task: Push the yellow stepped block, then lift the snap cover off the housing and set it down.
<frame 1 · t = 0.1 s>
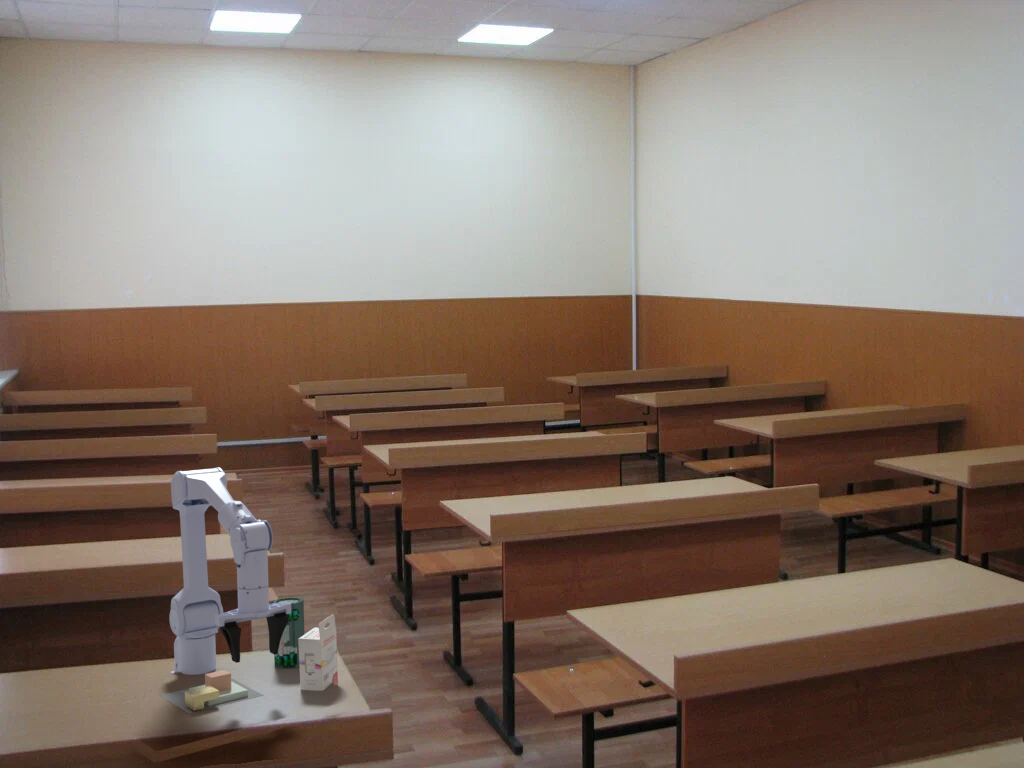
hand: (255, 657, 203), 10 cm above the table, fingers open, 7 cm apart
yellow stepped block: (202, 697, 202), point 3 cm above the table, slide at 0.0 cm
ink cartridge box: (319, 692, 214), on the table
can: (290, 671, 228), on the table
housing: (211, 702, 208), on the table
snap cover: (218, 695, 208), point 1 cm above the table, touching housing
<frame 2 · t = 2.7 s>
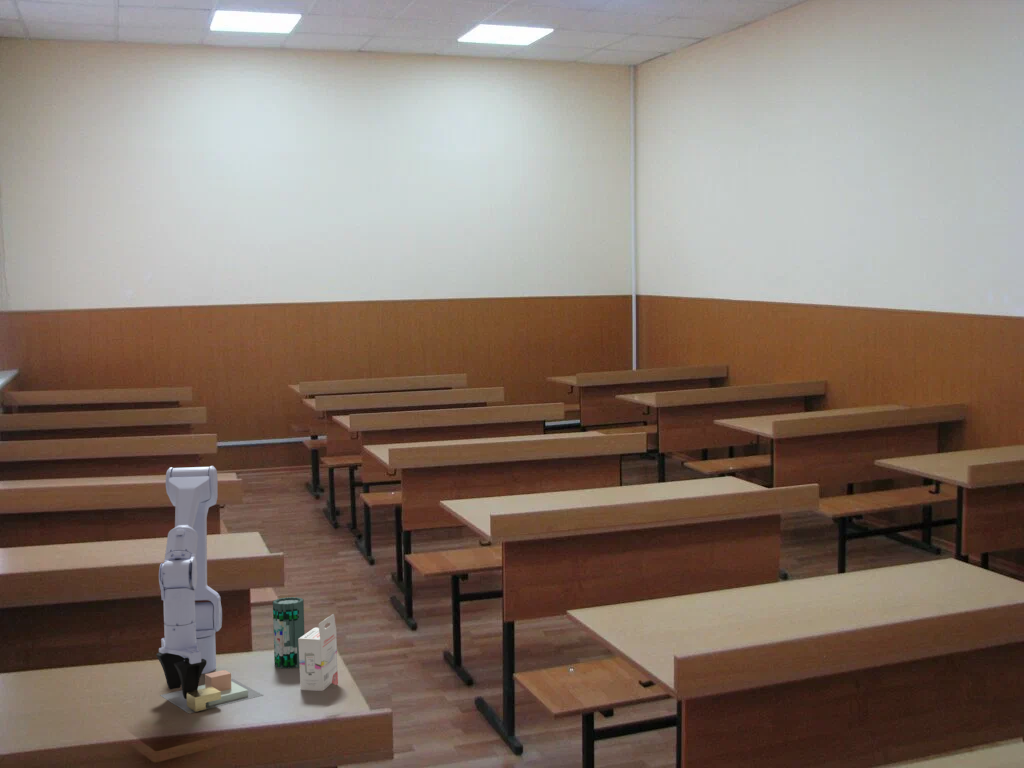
hand: (182, 692, 205), 3 cm above the table, fingers open, 7 cm apart
yellow stepped block: (203, 698, 201), point 3 cm above the table, slide at 0.8 cm, touching gripper
everything else where it was.
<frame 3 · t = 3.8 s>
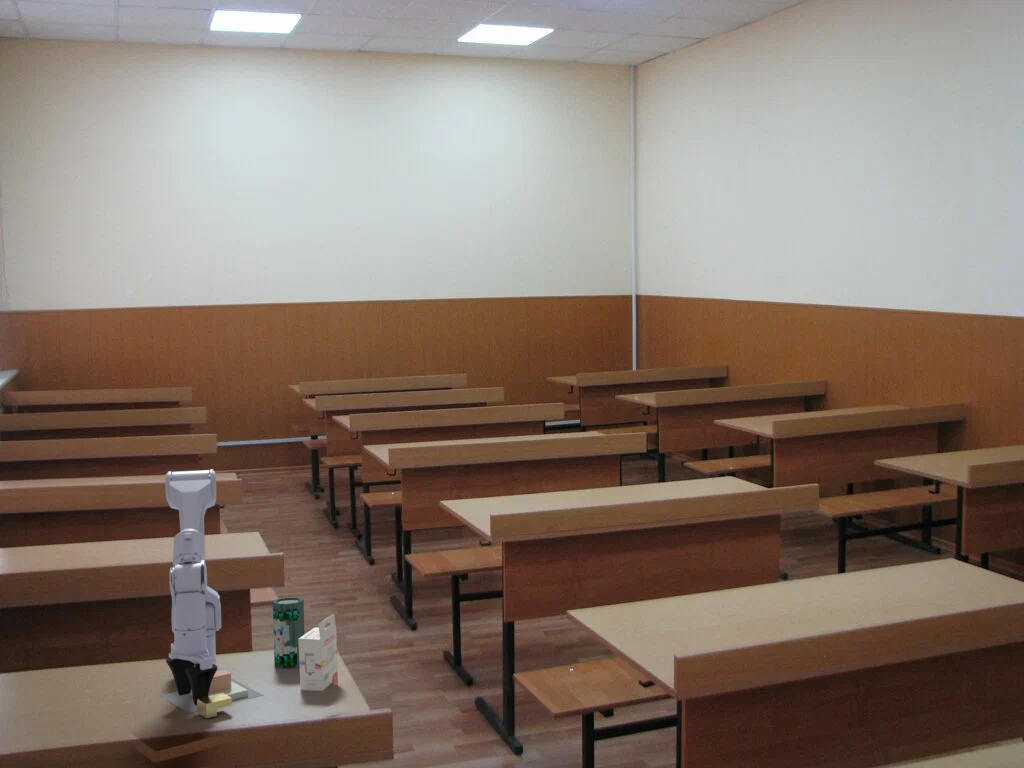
hand: (192, 699, 201), 3 cm above the table, fingers open, 7 cm apart
yellow stepped block: (214, 705, 197), point 3 cm above the table, slide at 5.6 cm, touching gripper
everything else where it was.
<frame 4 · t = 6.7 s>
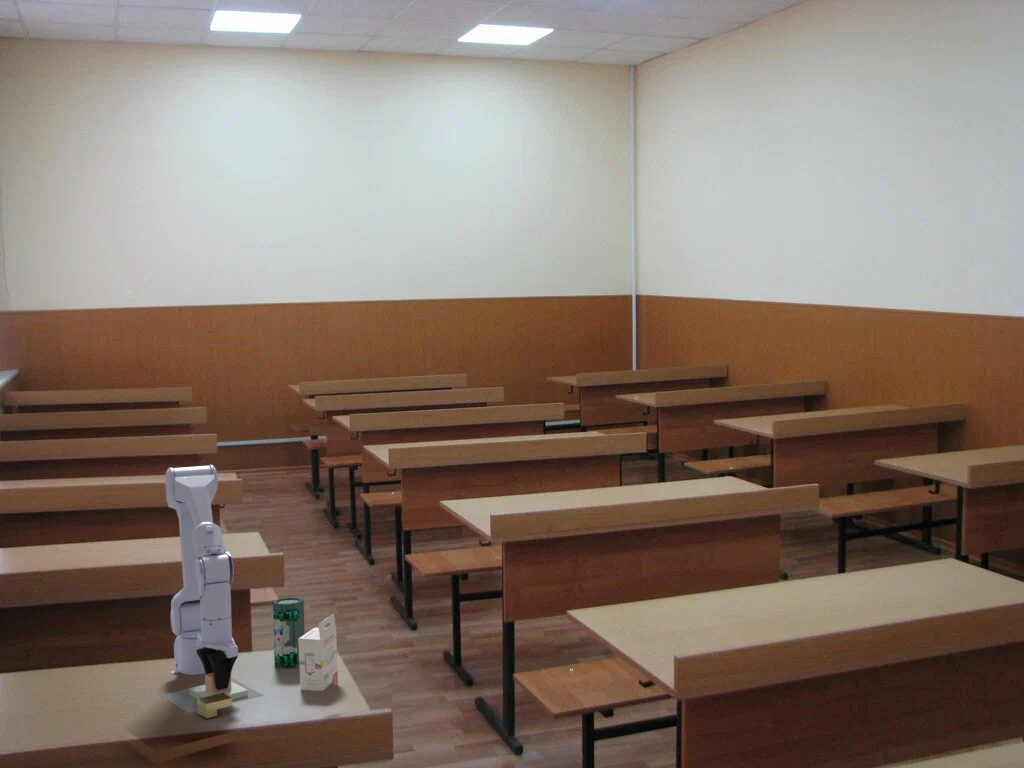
hand: (218, 686, 208), 3 cm above the table, fingers closed on snap cover, 3 cm apart
yellow stepped block: (214, 705, 197), point 3 cm above the table, slide at 5.7 cm
snap cover: (218, 695, 208), point 1 cm above the table, touching gripper, housing
everything else where it was.
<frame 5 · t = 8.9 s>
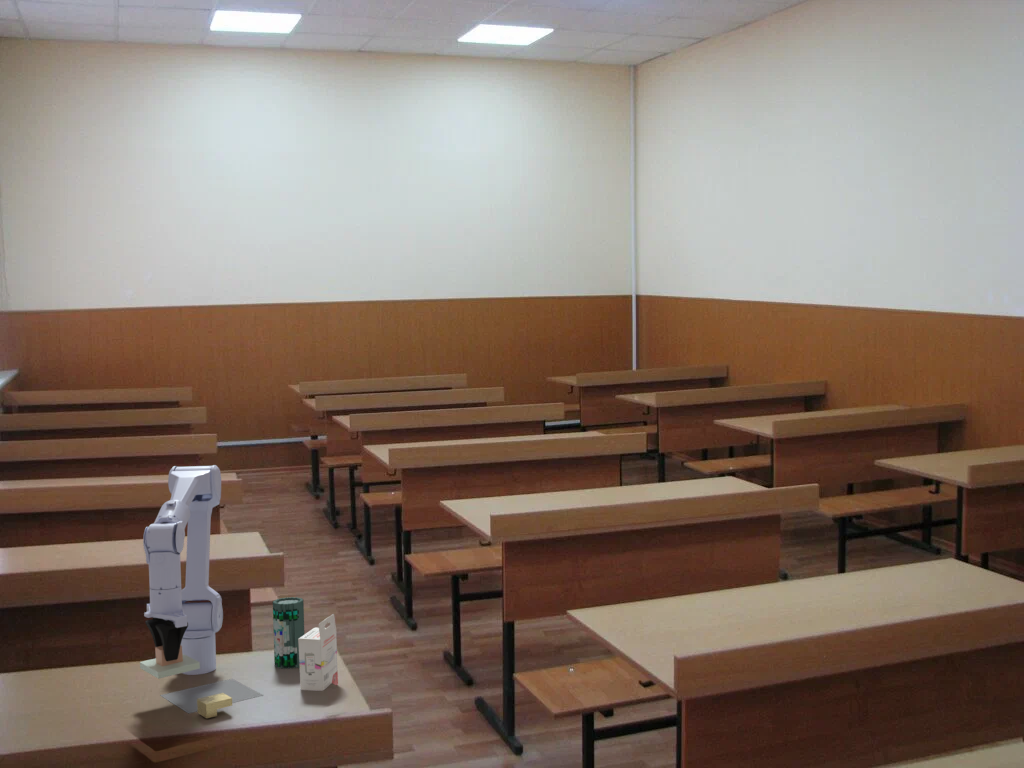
hand: (167, 658, 203), 10 cm above the table, fingers closed on snap cover, 3 cm apart
snap cover: (169, 668, 203), point 8 cm above the table, touching gripper
everything else where it was.
when the fingers open (3 cm above the table, at t = 11.3 s): snap cover drops 1 cm, on the table.
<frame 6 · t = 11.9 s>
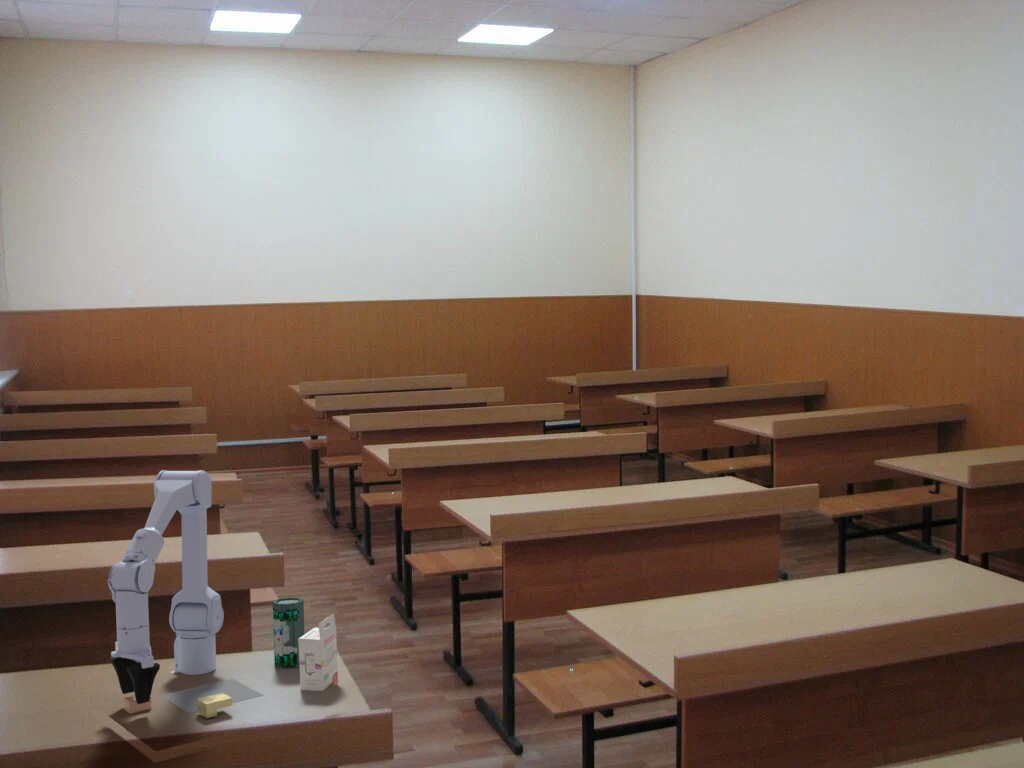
hand: (135, 697, 201), 4 cm above the table, fingers open, 7 cm apart
snap cover: (138, 719, 201), on the table
everything else where it was.
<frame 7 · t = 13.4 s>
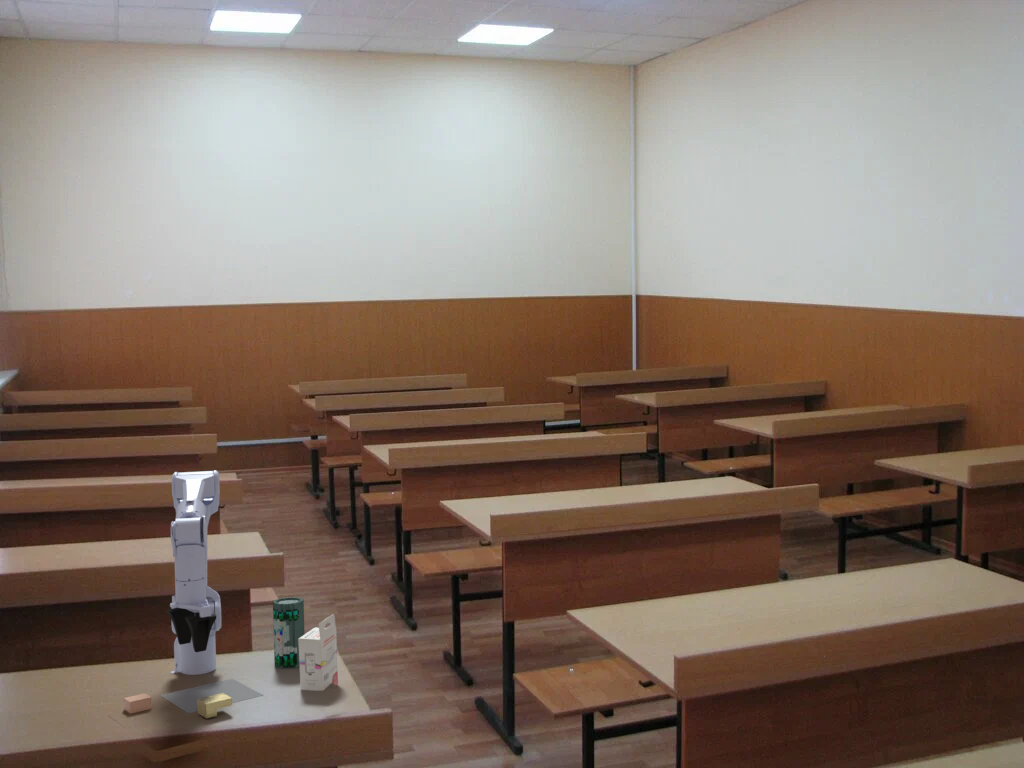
hand: (192, 647, 211), 10 cm above the table, fingers open, 7 cm apart
nothing on the table moved.
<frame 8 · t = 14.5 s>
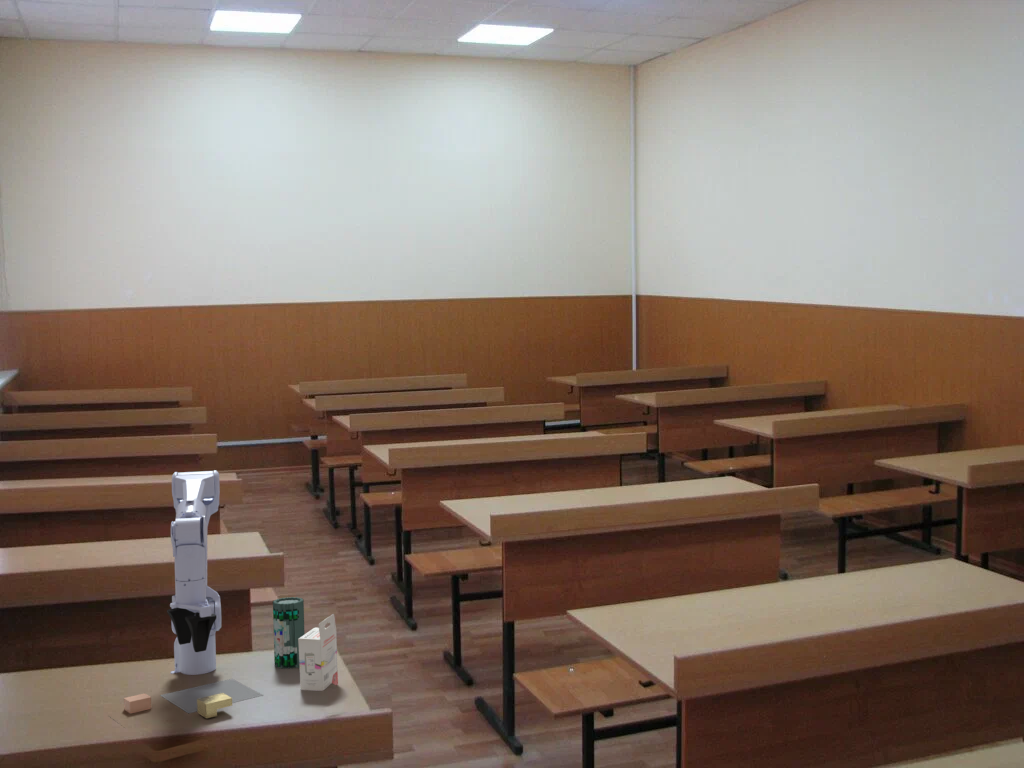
hand: (192, 647, 211), 10 cm above the table, fingers open, 7 cm apart
nothing on the table moved.
at the end: yellow stepped block slide at 5.7 cm; snap cover inside the target area (0.4 cm from its centre), on the table; snap cover tilted 0° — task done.
